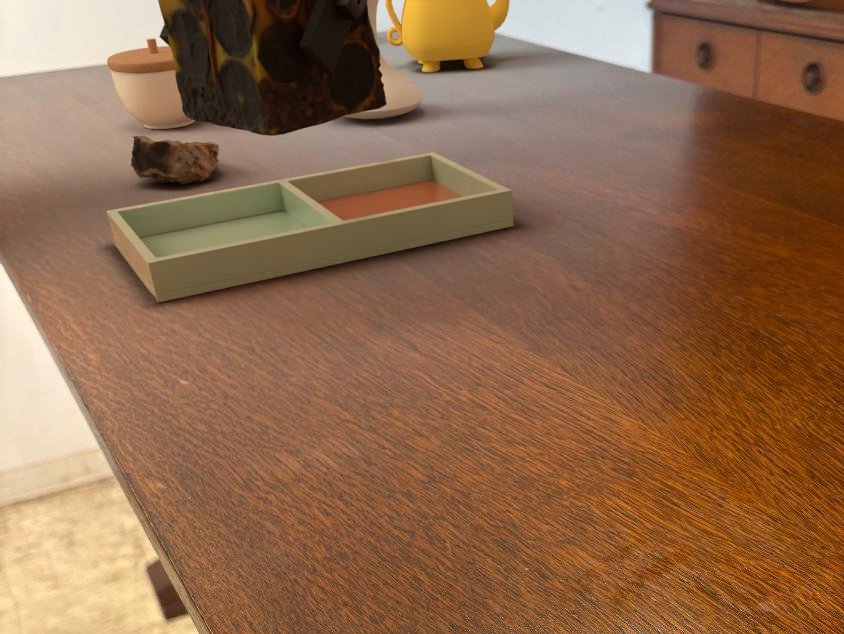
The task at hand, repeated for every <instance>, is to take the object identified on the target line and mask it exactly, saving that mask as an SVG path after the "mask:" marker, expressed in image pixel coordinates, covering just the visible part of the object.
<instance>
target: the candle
mask: <svg viewBox="0 0 844 634" xmlns="http://www.w3.org/2000/svg"><path fill="white" fill-rule="evenodd" d="M157 2H158V6H159V9H160V10H159V11H160V13H161V17H162V19H163V25H164V24H165V27H166V28H167V30H168V41H169V44H170V47H171V50H172V54H173V59H174V63H175V72H176V76H175V77H176V82H177V87H178V91H179V93H180V97H181V101H182V110H183V113H184V114H185V116H186V117H188V118H190V119H192V120H195V122H196V121H198V122H201V123H209V124H212V125H216V126H220V127H224V128H230V129H236V130H241V131H247V132H250V133H252V134H256V135H260V136H268V137H269V136H270V137H272V136H281V135H286V134H289V133H293V132H297V131H299V130H304V129H308V128H312V127H315V126H319V125H323V124H327V123H329V122H332V121H335V120H338V119H340V118H344V117H343V116H345V115H350V114H355V113H360V112H365V111H370V110H375V109H380V108H381V107H383V106H385V105H386V97H385V91H384V84H383V83H382V81H381V77H382V76H383V75H382V73H381V71H380V70H379V67H380V66H381V64H380V53H381V50H380V47H379V48H378V46H379V45H378V46H377V44H376V40H375V36H374V32H373V29H372V26H371V23H370V19H369V16H368V6H367V3H366V5H365V9H364V11H363V14H362V15H361V16H360V18H359V19H358V20H353V21H352V24H351V26H350V29H349V32H348V34H347V37H346V40H345V42H344V45H343V48H342V50H341V53H340V56H339V58H338V61H337V64H336V66H335V69H334V72H333V74H329V73H323V72H322V71H321V70H320V69H319V68H318V67H317V65H316V64H315V63H314V62H313V61H312V60H311V59H310V58H309V56H308V55H307V54H306V53H305V52H304V51H303V50H302V49H301V47H300V46H299V45H300V42H301V40H302V37H303V34H304V32H305V29H306V27H307V24H308V21H309V19H310V16H311V14H312V11H313V8H314V6H315V3H316V0H157ZM379 50H380V51H379Z"/></svg>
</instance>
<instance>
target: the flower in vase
mask: <svg viewBox="0 0 844 634" xmlns="http://www.w3.org/2000/svg"><path fill="white" fill-rule="evenodd" d="M379 1H380V0H368V1H367V6H368V16H369V19H370V23H371V26H372V29H373V32H374V36H375V40H376V44H377V46H378V48H379V51H380V64H381V66H380V67H379V70H380V71H381V73H382V75H383V76H382V77H381V81H382V83H383V84H384V91H385V97H386V105H385V106H383V107H381V108H380V109H375V110H370V111H365V112H360V113H355V114H350V115H345V116H343V117H342V118H348V119H357V120H380V119H381V120H382V119H387V118H393V117H397V116H401V115H405V114H407V113H410V112H412V111H413V110H415V109H416V108H417V109H418V108H419V107H420V105H421V103H422V101H423V99H424V96H423V94H422V91H421V90H420V89H419V88H418V87H417V86H416V85H415V84H414V83H413V82H412V81H411V80H410V79H408V78H407V77H406V76H404V75H403V74H402V73H401V72H400V71H398V70H397V69H395V68H393V66H391V65H390V64H389V63H388V62H387V61H386V60H385V59H384V57H383V55H382V53H381V50H380V47H379V39H378V30H377V28H378V27H377V14H378V4H379Z"/></svg>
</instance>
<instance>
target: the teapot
mask: <svg viewBox="0 0 844 634" xmlns="http://www.w3.org/2000/svg"><path fill="white" fill-rule="evenodd" d="M384 2H385V8H386V11H387V14H388V17H389V18H390V20H391V23H392V24H393V26H394V27H391V28H389V29H388V31H387V32H386V33H387V34H386V40H387V42H388V44H390V45H391V46H394V47H401V46H402V45H403V47H404V49H405V50H406V52H407V54H408V55H409V56H410V57H411V58H412V59H414V60H418V61H417V63H418V64H420V65H422V68H421V72H423V73H433V72H438V71H440V69H441V61H442V62H443V61H455V60H460V61H463V64H464V67H465V69H469V70H470V69H473V70H474V69H481V68H484V65H483V63H482V61H481V59H480V58H481V57H485V56H487V55H488V54H489V52H490V51H491V50H492V49H491V48H492V46H493V44H494V41H495V38H496V33H495V32H496V31H497V30H498V29H499V28H501V27H502V25H504V23H505V21H506V20H507V17H508V15H509V14H508V13H509V10H510V0H495V1H494V2H493V3H492V4H491V5H489V2H488V0H404V2H403V6H402V12H401V19H400V20H399V18H398V16H397V14H396V11H395V9H394V6H393V0H384ZM394 33H397V39H396V38H394V37H393V34H394Z"/></svg>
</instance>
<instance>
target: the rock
mask: <svg viewBox="0 0 844 634" xmlns="http://www.w3.org/2000/svg"><path fill="white" fill-rule="evenodd" d="M131 138H133V146H132V150H131V159H130V161H131V163H130V166H131V167H132V168H133V169H132V170H133V172H134V173H135V174H136V176H137V177H138V178H140V179H141V178H147V179H148V178H149V179H153V180H155V181H156V182H158V183H161V184H166V183H179V184H181V185H187V184H190V183H195V182H203V181H204V180H206V179H208V178H209V177H210V176H211V173H212V172H213V171H214V170H215V169H216V166H217V164H218V163H219V162H220V160H219V155H220V145H219V144H218V143H216V142H211V141H207V142H206V141H205V142H201V141H192V142H182V141H181V140H170V139H165V140H156V141H155V140H153V139H151V138H150V137H149V136H147V135H134V136H132V135H131Z"/></svg>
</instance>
